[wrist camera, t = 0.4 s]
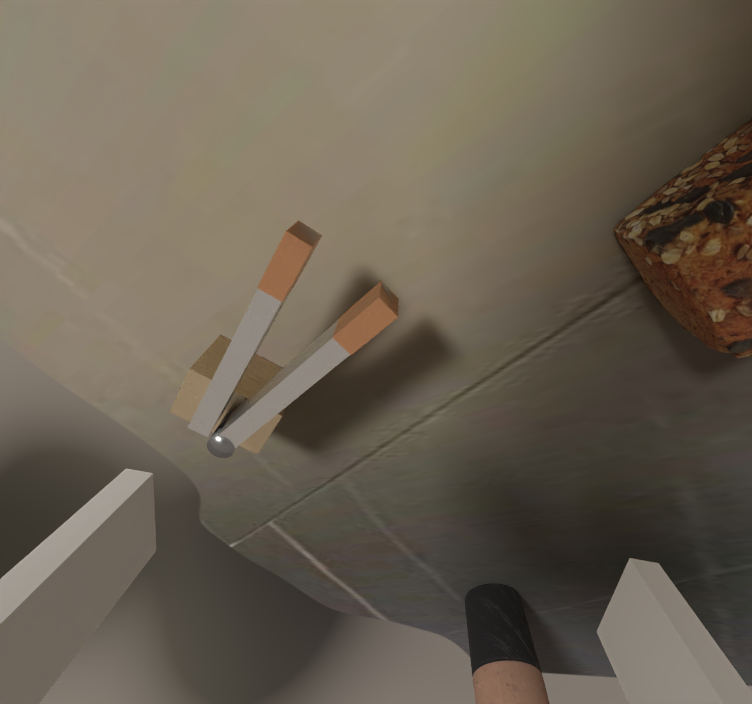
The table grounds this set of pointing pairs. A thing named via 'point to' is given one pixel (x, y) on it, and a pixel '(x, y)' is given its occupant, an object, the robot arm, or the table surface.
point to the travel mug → (502, 648)
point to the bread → (701, 245)
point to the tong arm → (306, 368)
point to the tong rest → (245, 347)
